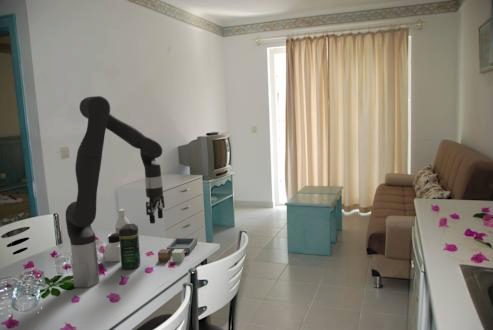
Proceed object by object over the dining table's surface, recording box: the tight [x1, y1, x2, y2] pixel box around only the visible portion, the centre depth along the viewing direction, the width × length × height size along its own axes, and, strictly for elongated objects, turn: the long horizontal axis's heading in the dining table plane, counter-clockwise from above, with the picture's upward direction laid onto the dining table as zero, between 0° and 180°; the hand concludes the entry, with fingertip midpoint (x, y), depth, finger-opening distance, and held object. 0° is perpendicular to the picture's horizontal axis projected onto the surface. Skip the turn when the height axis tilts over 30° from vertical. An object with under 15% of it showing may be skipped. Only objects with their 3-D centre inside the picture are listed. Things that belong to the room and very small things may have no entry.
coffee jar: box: [119, 223, 141, 270], centre depth 176 cm, size 10×8×19 cm
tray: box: [166, 237, 198, 255], centre depth 196 cm, size 15×11×3 cm
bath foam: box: [115, 208, 131, 233], centre depth 199 cm, size 7×7×20 cm
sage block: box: [171, 249, 186, 263], centre depth 181 cm, size 4×4×4 cm
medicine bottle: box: [103, 232, 121, 263], centre depth 185 cm, size 7×7×12 cm
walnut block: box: [157, 248, 172, 263], centre depth 182 cm, size 4×4×4 cm
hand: (156, 220), depth 183 cm, fingers open, 8 cm apart
